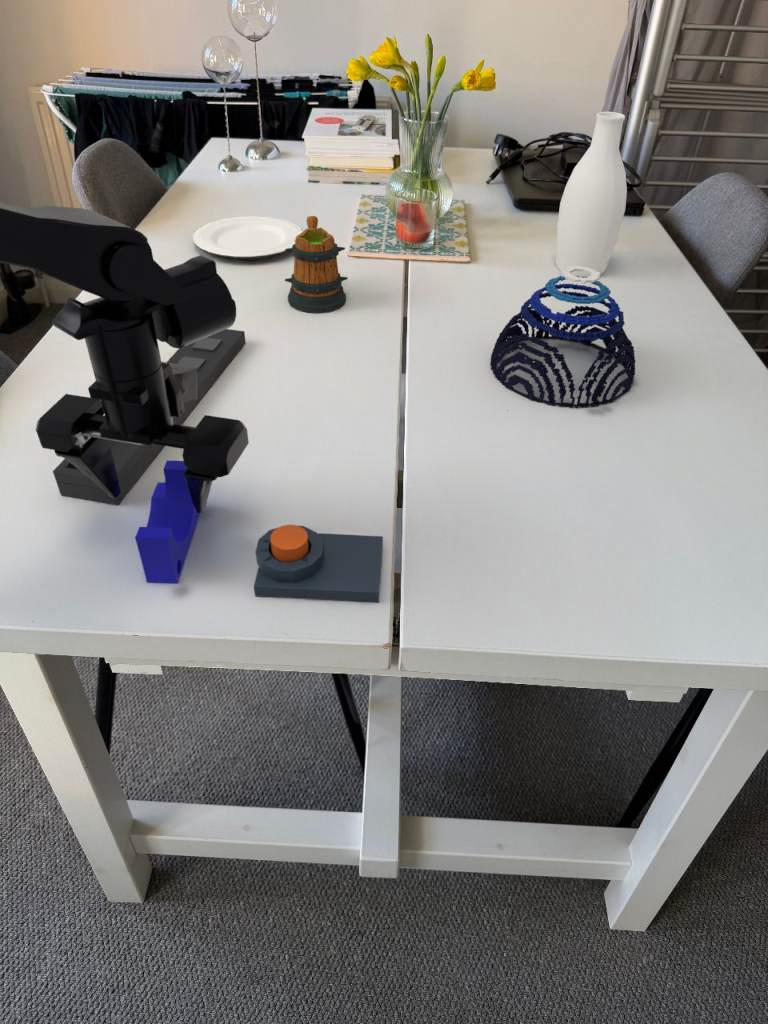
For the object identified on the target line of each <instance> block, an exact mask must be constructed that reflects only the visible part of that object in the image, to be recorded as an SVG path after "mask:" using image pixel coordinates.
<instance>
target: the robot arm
mask: <svg viewBox="0 0 768 1024" xmlns="http://www.w3.org/2000/svg"><path fill="white" fill-rule="evenodd" d="M0 264H6V265H11V266H17V267H21V268H27V269H31V270H33V271H35V272H37V273H41V274H43V275H46V276H49V277H50V278H53V279H55V280H58V281H60V282H62V283H65V284H67V285H69V286H72V287H74V288H76V289H79V290H82V291H84V292H87V293H89V294H92V295H94V296H97V297H98V298H95V299H92V300H88V301H86V302H81V301H79V300H77V299H76V298H74V297H70V296H69V297H68V298H67V299H66V302H65V305H64V306H63V307H62V308H61V310H59V311H58V312H57V314H56V316H55V317H54V318H53V320H52V325H53V326H54V327H55V328H56V329H58V330H60V331H61V332H63V333H65V334H66V335H68V336H69V337H72V338H73V339H75V340H77V341H82V340H84V341H85V345H86V348H87V352H88V357H89V361H90V364H91V367H92V371H93V375H94V380H95V381H94V382H93V383H92V384H91V385H90V386H88V388H87V390H88V394H89V396H83V395H75V394H70V393H65V394H63V396H62V397H60V399H59V400H57V402H55V403H54V404H53V405H52V406H51V407H50V408H49V409H48V410H47V411H46V412H45V413H44V414H43V415H41V416H40V417H39V418H38V419H37V422H36V425H35V426H36V427H35V431H36V435H37V437H38V440H39V443H40V446H41V448H42V449H45V450H53V451H54V453H55V456H57V457H60V458H63V459H66V460H67V461H69V462H70V463H71V464H73V465H74V466H75V467H77V468H78V469H79V470H80V471H82V472H83V473H84V474H85V475H87V476H88V477H89V478H90V479H91V480H92V481H94V482H95V483H96V484H97V485H98V486H99V487H100V488H101V489H103V490H104V491H105V492H106V493H107V494H108V495H109V496H110V497H112V498H114V499H117V498H118V496H119V495H120V494H121V489H120V482H119V477H118V473H117V470H116V466H115V462H114V458H113V455H112V451H111V447H110V440H113V441H119V442H126V443H132V444H138V445H152V444H156V445H163V446H164V447H169V448H175V449H176V448H177V449H182V461H184V465H185V466H186V467H187V470H186V471H185V473H184V477H185V480H186V483H187V486H188V490H189V493H190V496H191V499H192V502H193V505H194V507H195V509H196V511H197V513H200V515H201V514H203V512H204V511H205V509H206V507H207V504H208V499H209V496H210V491H211V488H212V484H213V482H214V481H216V480H217V479H218V478H223V477H226V476H228V475H229V474H230V473H231V472H232V470H233V469H234V467H235V465H236V464H237V463H238V461H239V459H240V457H241V456H242V454H243V453H244V451H245V449H246V448H247V446H248V445H249V444H250V443H249V433H248V428H247V426H246V425H245V423H244V422H242V421H241V420H239V419H235V418H227V417H222V416H215V415H208V414H204V416H203V417H202V418H201V419H200V421H199V422H198V423H197V425H196V426H188V425H183V424H182V425H176V424H173V418H174V417H180V416H181V415H182V413H183V412H184V411H185V410H184V404H183V403H185V402H187V401H189V400H196V399H197V368H196V367H194V366H188V365H181V364H174V363H167V361H165V362H164V361H162V358H161V353H160V347H159V343H158V341H159V342H161V343H165V344H167V345H169V346H170V347H172V348H175V349H179V348H182V347H185V346H187V345H189V344H192V343H194V342H196V341H199V340H201V339H204V338H206V337H208V336H211V335H213V334H215V333H218V332H220V331H223V330H225V329H230V328H231V327H232V326H233V325H234V324H235V322H236V319H237V304H236V301H235V299H233V296H232V294H231V292H230V289H229V287H228V286H227V283H226V282H225V280H224V279H223V278H222V276H220V275H219V273H218V271H217V263H216V261H215V260H212V259H210V258H208V257H205V256H203V255H196V256H194V257H190V258H189V259H188V260H186V261H184V262H183V263H180V264H176V265H175V266H171V267H169V268H166V269H164V268H163V267H162V266H161V265H159V263H157V261H156V260H154V255H153V250H152V248H151V245H150V243H149V239H148V237H147V236H146V235H145V234H143V233H142V231H139V230H137V229H135V228H133V227H131V226H128V225H126V224H124V223H122V222H119V221H117V220H115V219H113V218H111V217H108V216H106V215H103V214H100V213H99V212H96V211H94V210H92V209H90V208H89V209H88V208H81V207H71V206H70V207H68V206H59V205H58V206H56V205H39V206H20V205H11V204H8V203H3V202H0Z"/></svg>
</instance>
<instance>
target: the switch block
mask: <svg viewBox="0 0 768 1024" xmlns="http://www.w3.org/2000/svg"><path fill="white" fill-rule="evenodd" d="M299 526H300V527H302V528H303V529H304V530H305V531H306V532H307V535H308V553H307V554H306V556H305V557H304V558H302V559H300V560H297V561H294V562H282V561H279V560H278V559H276V558H275V557H274V556H273V554H272V549H271V540H270V537H271V534H272V532H273V531H274V530H275V529H277V528H278V527H275V528H272V529H269V530H267V532H265V534H263V535H262V536H261V537H260V538H258V540H257V545H256V548H255V559H256V564H257V567H258V568H257V572H256V576H255V581H254V583H253V591H254V597H267V598H269V597H270V598H286V599H287V598H289V599H306V600H307V599H308V600H323V601H324V600H325V601H343V602H344V601H347V602H363V603H365V602H366V603H379V602H380V588H381V573H382V561H383V546H384V545H383V544H384V543H383V542H384V537H383V536H382V535H364V534H363V535H362V534H361V535H360V534H359V535H358V534H345V533H343V534H342V533H341V534H340V533H322V532H317V531H315V530H314V529H313V530H312V529H311V528H309V527H306V526H304V525H299Z"/></svg>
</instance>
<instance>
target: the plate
mask: <svg viewBox="0 0 768 1024" xmlns="http://www.w3.org/2000/svg"><path fill="white" fill-rule="evenodd" d="M303 231H304V230H302V228H300V226H298V225H297V224H295V223H293V222H291V221H288V220H285V219H282V218H276V217H270V216H261V215H260V216H258V215H257V216H255V215H246V216H245V215H243V216H233V217H228V218H222V219H217V220H215V221H212V222H211V221H210V222H209V223H207V224H204V225H202V226H201V227H199V228H198V229H197V230H196V231H194V234H193V236H192V240H193V241H192V242H193V244H194V245H196V247H197V248H198V249H199V250H201V251H203V252H206V253H207V254H208V253H209V254H210V255H215V256H217V257H224V258H229V259H236V260H257V259H264V258H270V257H273V256H276V255H280V254H283V253H286V252H287V251H285V249H288V248H292V245H294V244H295V242H294V241H295V240H296V237H297V236H298V235H299V234H301V233H302V232H303Z"/></svg>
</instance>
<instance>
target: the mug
mask: <svg viewBox="0 0 768 1024" xmlns="http://www.w3.org/2000/svg"><path fill="white" fill-rule="evenodd" d="M318 224H319V219H318V216H315V215H309V216H307V217H306V226H307V228H306V229H304V230H302V231H303V232H302V233H301V234H299V235H298V236H297V237H296V240H295V241H294V242H295V244H294V245H292V248H288V249H285V251H286V252H288V253H290V254H292V256H293V257H294V260H293V273H292V274H291V277H289V278H284V282H287V283H291V286H290V289H289V292H288V294H287V302H288V304H289V306H290V307H291V308H292V309H295V310H296V311H299V312H303V313H307V314H324V313H325V314H326V313H331V312H334V311H337V310H340V309H341V308H342V307H344V306H345V305H346V301H347V293H346V292H345V291H344V287H343V285H342V284H343V282H344V281H347V280H348V276H341V273H340V272H339V266H338V258H337V257H338V256H339V255H340V254H339V252H342V251H344V250H346V248H345V247H343V246H342V247H341V246H338V243H336V242H335V236H333V235H332V234H330V233H328V230H325V229H324V228H323V227H318V226H319V225H318Z"/></svg>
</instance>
